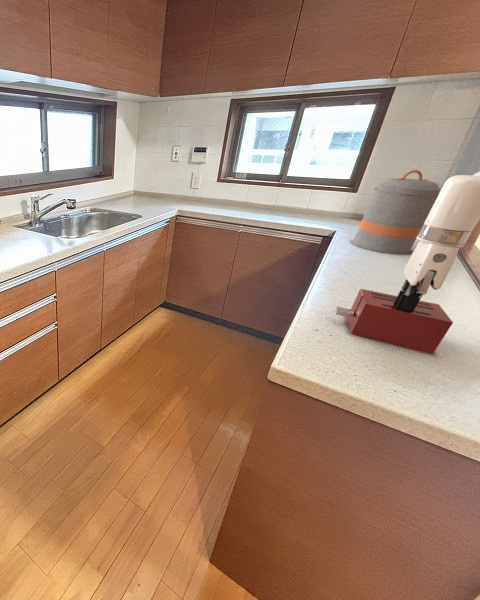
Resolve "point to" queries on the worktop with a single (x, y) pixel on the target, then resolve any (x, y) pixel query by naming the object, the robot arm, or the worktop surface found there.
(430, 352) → the toaster
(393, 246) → the storage container
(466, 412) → the worktop surface
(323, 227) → the worktop surface
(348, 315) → the brushed metal plate
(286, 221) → the worktop surface
